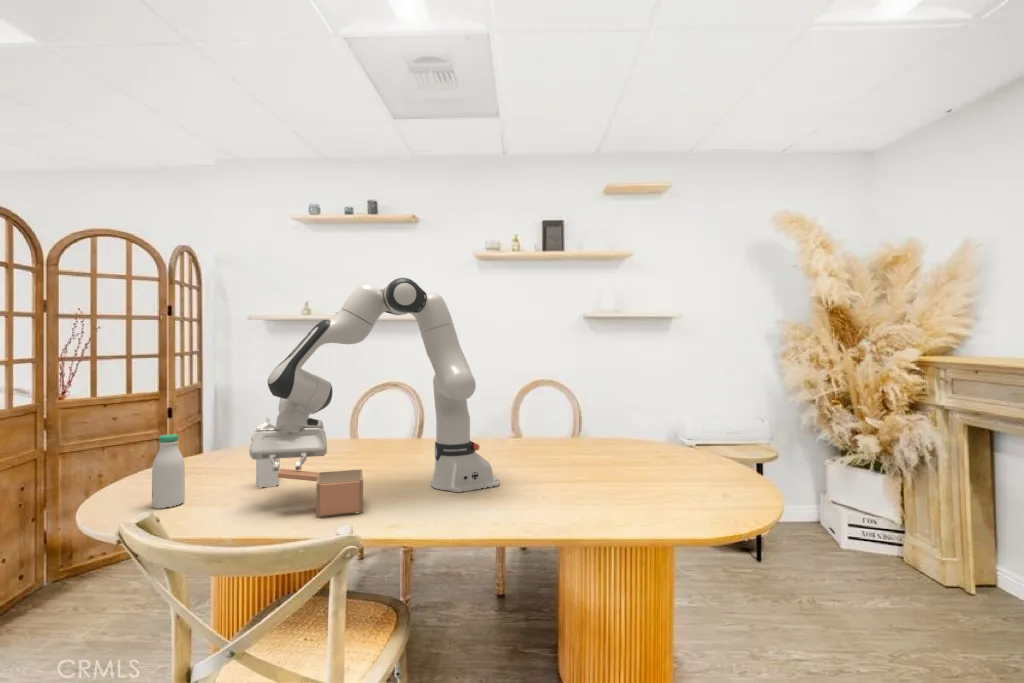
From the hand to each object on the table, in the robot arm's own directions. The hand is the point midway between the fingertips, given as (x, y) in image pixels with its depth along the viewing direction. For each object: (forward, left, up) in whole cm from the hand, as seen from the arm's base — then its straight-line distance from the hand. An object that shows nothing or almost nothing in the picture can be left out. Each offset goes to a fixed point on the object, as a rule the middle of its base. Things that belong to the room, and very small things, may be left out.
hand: (287, 469), depth 136 cm
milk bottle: (+33, -17, -12) cm, 39 cm away
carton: (-14, +1, -12) cm, 18 cm away
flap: (-8, +1, -2) cm, 9 cm away
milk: (+9, -30, -12) cm, 33 cm away
